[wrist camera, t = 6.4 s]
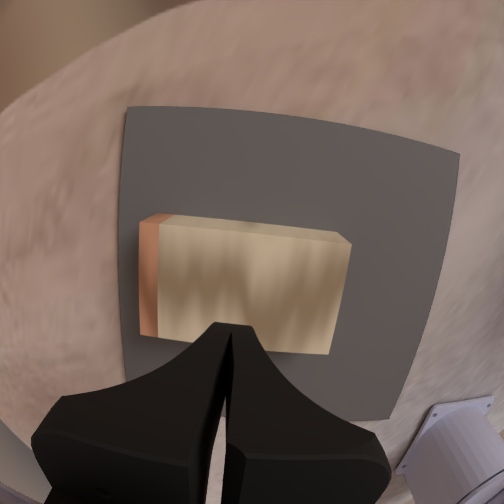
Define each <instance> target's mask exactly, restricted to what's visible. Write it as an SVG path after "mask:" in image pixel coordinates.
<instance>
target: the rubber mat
mask: <svg viewBox="0 0 504 504" xmlns="http://www.w3.org/2000/svg"><path fill="white" fill-rule="evenodd" d="M459 159H460V154H459V153H456V152H453V151H450V150H447V149H443V148H440V147H437V146H433V145H430V144H426V143H423V142H419V141H415V140H411V139H408V138H404V137H400V136H396V135H392V134H387V133H383V132H379V131H374V130H370V129H365V128H360V127H355V126H350V125H345V124H340V123H334V122H328V121H323V120H316V119H310V118H303V117H296V116H289V115H281V114H273V113H264V112H255V111H244V110H232V109H218V108H201V107H169V106H138V107H127V115H126V123H125V132H124V141H123V152H122V164H121V178H120V196H119V227H118V267H119V298H120V316H121V330H122V342H123V353H124V362H125V371H126V380H127V382H128V381H131V380H133V379H136V378H138V377H140V376H143V375H145V374H147V373H149V372H151V371H153V370H155V369H157V368H159V367H161V366H162V365H164V364H166V363H167V362H169V361H170V360H172V359H173V358H174V357H176V356H177V355H178V354H180V353H181V352H182V351H184V350H185V349H186V348H187V347H189V346H190V345H191V344H192V342H185V341H178V340H171V339H164V338H158V337H152V336H146V335H140V314H139V223H140V222H141V221H143V220H145V219H147V218H149V217H151V216H153V215H155V214H157V213H162V214H173V215H184V216H195V217H205V218H215V219H226V220H235V221H245V222H254V223H264V224H273V225H282V226H291V227H299V228H308V229H316V230H325V231H333V232H337V233H339V234H340V235H341V236H342V237H343V238H345V239H346V240H347V241H348V242H349V243H351V244H352V246H351V252H350V258H349V263H348V268H347V274H346V279H345V284H344V289H343V294H342V298H341V303H340V308H339V312H338V317H337V321H336V325H335V330H334V334H333V338H332V342H331V346H330V350H329V354H328V355H326V354H306V353H290V352H277V351H266V353H267V354H268V356H269V357H270V359H271V360H272V362H273V363H274V364H275V366H276V367H277V368H278V369H279V371H280V372H281V373H282V374H283V375H284V376H285V378H286V379H287V380H288V381H289V382H290V383H292V384H293V385H294V386H295V387H296V388H297V389H298V390H299V391H300V392H302V393H303V394H304V395H305V396H307V397H308V398H309V399H311V400H312V401H313V402H315V403H316V404H317V405H319V406H321V407H322V408H324V409H325V410H327V411H329V412H330V413H332V414H334V415H336V416H337V417H339V418H341V419H343V420H345V421H368V420H383V419H389V418H390V415H391V413H392V411H393V409H394V407H395V404H396V402H397V400H398V398H399V395H400V393H401V390H402V388H403V386H404V383H405V381H406V378H407V376H408V373H409V371H410V368H411V365H412V363H413V360H414V357H415V355H416V352H417V349H418V346H419V343H420V340H421V337H422V335H423V331H424V328H425V325H426V322H427V319H428V316H429V312H430V309H431V306H432V302H433V299H434V295H435V291H436V288H437V284H438V280H439V276H440V272H441V268H442V264H443V259H444V255H445V250H446V246H447V241H448V236H449V231H450V225H451V219H452V214H453V207H454V201H455V194H456V187H457V178H458V170H459ZM221 416H225V417H226V397H225V401H224V405H223V409H222V413H221Z"/></svg>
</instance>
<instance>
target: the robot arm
mask: <svg viewBox="0 0 504 504" xmlns="http://www.w3.org/2000/svg"><path fill="white" fill-rule="evenodd" d="M225 397H226V454H225V464H224V475H223V486H222V497H221V504H375V503H376V502H377V500H378V499H379V498H380V496H381V495H382V493H383V492H384V491H385V489H386V488H387V486H388V484H389V482H390V480H391V473H392V470H391V467H390V464H389V462H388V459H387V457H386V454H385V452H384V450H383V448H382V446H381V444H380V442H379V440H378V439H377V437H376V435H375V433H373V432H370V431H368V430H366V429H363V428H361V427H358V426H356V425H354V424H351V423H349V422H347V421H345V420H343V419H341V418H339V417H337V416H336V415H334V414H332V413H330V412H329V411H327V410H325V409H324V408H322V407H321V406H319V405H317V404H316V403H315V402H313V401H312V400H311V399H309V398H308V397H307V396H305V395H304V394H303V393H302V392H300V391H299V390H298V389H297V388H296V387H295V386H294V385H293V384H292V383H290V382H289V381H288V380H287V379H286V378H285V376H284V375H283V374H282V373H281V372H280V371H279V369H278V368H277V367H276V366H275V364H274V363H273V362H272V360H271V359H270V357H269V356H268V354H267V353H266V351H265V350H264V348H263V346H262V345H261V343H260V341H259V339H258V337H257V335H256V333H255V330H254V328H253V327H252V326H250V325H240V324H230V323H222V322H214V323H212V324H211V325H210V326H209V327H208V328H207V329H206V330H205V332H204V333H203V334H202V335H201V336H200V337H199V338H197V339H196V340H195V341H194V342H193V343H192V344H191V345H190V346H189V347H187V348H186V349H185V350H184V351H182V352H181V353H180V354H178V355H177V356H176V357H174V358H173V359H172V360H170V361H169V362H167V363H166V364H164V365H162V366H161V367H159V368H157V369H155V370H153V371H151V372H149V373H147V374H145V375H143V376H140V377H138V378H136V379H133V380H131V381H128V382H126V383H123V384H119V385H116V386H113V387H109V388H106V389H102V390H98V391H93V392H87V393H81V394H75V395H68V396H62V397H61V398H60V399H59V400H58V401H57V402H56V403H55V405H54V406H53V407H52V408H51V410H50V411H49V412H48V414H47V415H46V417H45V418H44V420H43V421H42V422H41V424H40V425H39V427H38V428H37V430H36V431H35V432H34V434H33V435H32V437H31V447H32V450H33V452H34V455H35V458H36V460H37V461H38V463H39V465H40V467H41V469H42V471H43V472H44V474H45V476H46V478H47V479H48V481H49V483H50V484H51V486H52V489H51V491H50V493H49V495H48V497H47V499H46V501H45V503H44V504H205V502H206V494H207V486H208V478H209V470H210V462H211V455H212V450H213V445H214V441H215V437H216V433H217V429H218V425H219V421H220V417H221V413H222V409H223V405H224V401H225ZM494 399H495V398H494V397H493V395H491V396H486V397H481V398H475V399H470V400H464V401H457V402H451V403H444V404H437V405H434V406H433V407H432V408H431V409H430V411H429V413H428V415H427V417H426V419H425V421H424V423H423V425H422V426H421V428H420V430H419V432H418V434H417V436H416V437H415V439H414V441H413V443H412V444H411V446H410V448H409V449H408V451H407V453H406V454H405V456H404V458H403V459H402V461H401V462H400V464H399V466H398V467H397V469H396V470H395V473H396V475H402V474H404V476H405V479H406V481H407V484H408V486H409V489H410V491H411V494H412V496H413V499H414V501H415V504H504V441H503V440H502V438H501V437H500V436H499V434H498V433H497V432H496V430H495V429H494V428H493V426H492V425H491V424H490V422H489V421H488V420H487V418H486V417H485V416H486V414H487V412H488V411H489V409H490V407H491V405H492V404H493V402H494ZM0 504H42V503H40V502H37V501H35V500H33V499H31V498H29V497H27V496H25V495H24V494H22V493H20V492H18V491H16V490H14V489H12V488H10V487H9V486H7V485H5V484H4V483H2V482H0Z"/></svg>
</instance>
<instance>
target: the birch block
mask: <svg viewBox="0 0 504 504" xmlns="http://www.w3.org/2000/svg"><path fill="white" fill-rule="evenodd" d="M351 246H352V244H351V243H349V242H348V241H347V240H346V239H345V238H343V237H342V236H341V235H340V234H339V233H337V232H333V231H325V230H316V229H308V228H299V227H291V226H282V225H273V224H264V223H254V222H245V221H235V220H226V219H215V218H205V217H195V216H184V215H173V214H162V213H157V214H155V215H153V216H151V217H149V218H147V219H145V220H143V221H141V222H140V223H139V314H140V335H146V336H152V337H158V338H164V339H171V340H178V341H185V342H192V343H193V342H194V341H195V340H196V339H197V338H199V337H200V336H201V335H202V334H203V333H204V332H205V330H206V329H207V328H208V327H209V326H210V325H211V324H212V323H214V322H222V323H230V324H240V325H250V326H252V327H253V328H254V330H255V333H256V335H257V337H258V339H259V341H260V343H261V345H262V346H263V348H264V350H265V351H277V352H290V353H306V354H326V355H328V354H329V350H330V346H331V342H332V338H333V334H334V330H335V325H336V321H337V317H338V312H339V308H340V303H341V298H342V294H343V289H344V284H345V279H346V274H347V268H348V263H349V258H350V252H351Z"/></svg>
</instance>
